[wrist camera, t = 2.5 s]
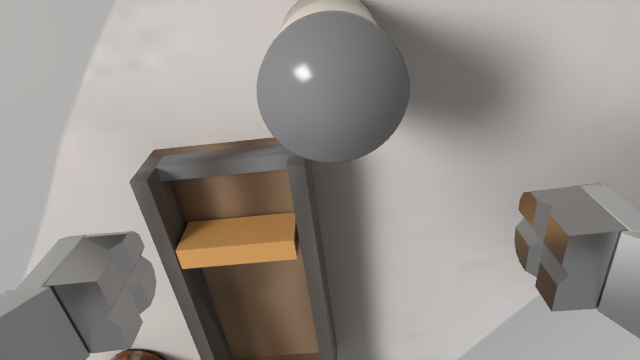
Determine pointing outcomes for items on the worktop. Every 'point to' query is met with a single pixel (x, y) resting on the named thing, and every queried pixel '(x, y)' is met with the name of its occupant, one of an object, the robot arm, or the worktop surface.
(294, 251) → the pusher
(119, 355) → the sauce bottle
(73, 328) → the robot arm
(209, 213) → the lane
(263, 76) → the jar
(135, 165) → the worktop surface
